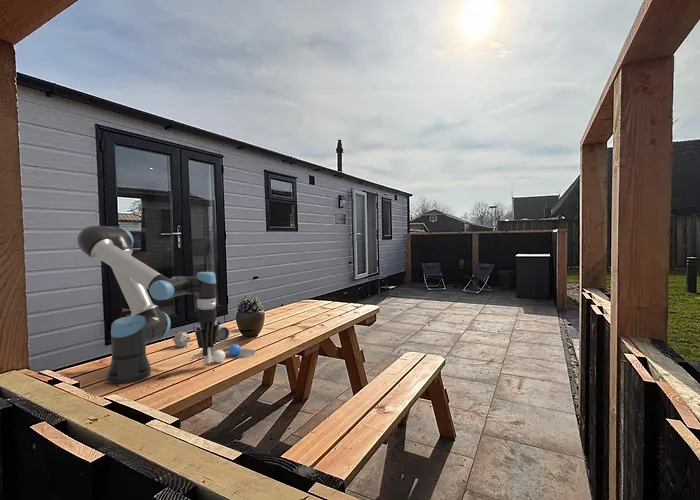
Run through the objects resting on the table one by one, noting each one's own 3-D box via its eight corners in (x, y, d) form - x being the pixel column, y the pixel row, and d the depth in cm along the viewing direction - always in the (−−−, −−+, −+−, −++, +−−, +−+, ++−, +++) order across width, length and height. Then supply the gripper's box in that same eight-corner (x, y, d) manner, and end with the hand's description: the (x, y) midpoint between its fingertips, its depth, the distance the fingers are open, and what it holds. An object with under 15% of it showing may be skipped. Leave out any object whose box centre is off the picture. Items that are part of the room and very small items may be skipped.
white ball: (226, 348, 164) (225, 360, 163) (213, 348, 162) (213, 361, 162) (224, 350, 158) (224, 363, 158) (211, 351, 157) (211, 364, 157)
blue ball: (231, 342, 167) (240, 340, 172) (224, 349, 168) (232, 346, 173) (237, 353, 165) (245, 350, 170) (229, 359, 167) (237, 356, 172)
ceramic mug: (222, 337, 203) (222, 323, 202) (230, 339, 197) (229, 325, 197) (204, 341, 195) (203, 327, 195) (211, 344, 189) (211, 329, 189)
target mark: (227, 360, 163) (227, 359, 163) (222, 351, 175) (222, 351, 175) (258, 355, 169) (258, 355, 169) (251, 347, 182) (251, 347, 182)
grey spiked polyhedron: (182, 355, 182) (181, 342, 177) (169, 348, 184) (166, 335, 178) (195, 342, 190) (193, 330, 184) (181, 336, 191) (179, 323, 185)
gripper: (201, 311, 146) (201, 368, 147) (224, 306, 158) (225, 359, 159) (187, 309, 149) (188, 366, 150) (212, 304, 161) (212, 356, 162)
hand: (207, 362), depth 154 cm, fingers closed
